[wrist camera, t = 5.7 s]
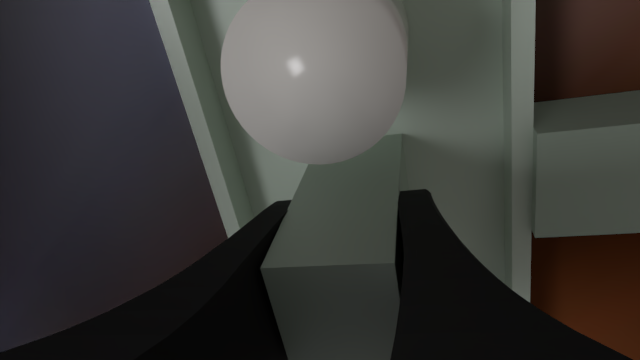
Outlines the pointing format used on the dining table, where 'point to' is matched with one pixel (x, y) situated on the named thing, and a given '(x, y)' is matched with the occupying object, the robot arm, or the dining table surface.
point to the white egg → (316, 74)
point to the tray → (412, 168)
